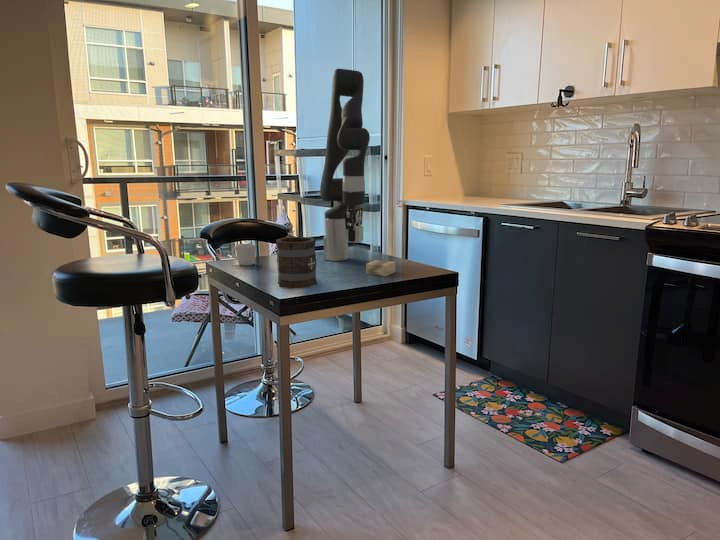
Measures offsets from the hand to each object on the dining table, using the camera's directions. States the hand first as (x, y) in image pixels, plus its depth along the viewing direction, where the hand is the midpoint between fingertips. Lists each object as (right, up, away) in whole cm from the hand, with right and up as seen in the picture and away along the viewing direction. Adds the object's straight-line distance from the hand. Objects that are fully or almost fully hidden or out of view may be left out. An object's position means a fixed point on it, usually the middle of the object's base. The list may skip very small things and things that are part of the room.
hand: (354, 239), depth 177 cm
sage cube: (0, -1, 0) cm, 0 cm away
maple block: (+10, -12, +14) cm, 20 cm away
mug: (-19, -15, +1) cm, 24 cm away
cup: (-45, -8, +31) cm, 55 cm away
